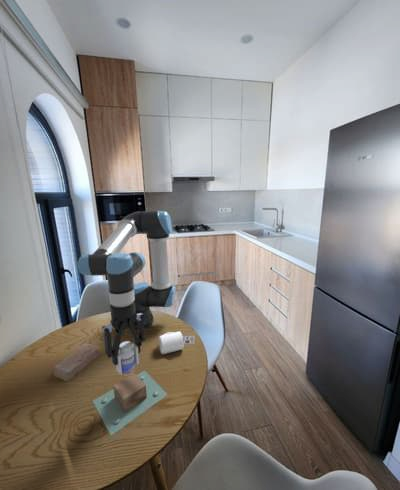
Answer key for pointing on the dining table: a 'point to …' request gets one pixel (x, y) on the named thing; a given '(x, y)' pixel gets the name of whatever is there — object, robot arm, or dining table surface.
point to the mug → (171, 342)
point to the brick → (76, 361)
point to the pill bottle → (127, 358)
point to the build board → (116, 416)
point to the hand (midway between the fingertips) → (127, 366)
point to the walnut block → (130, 392)
